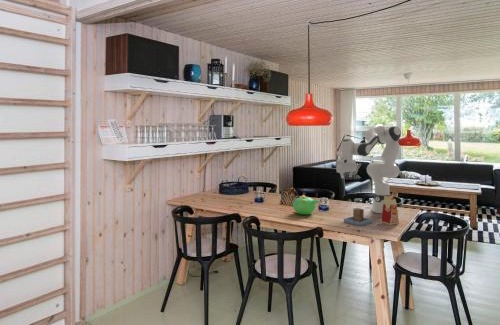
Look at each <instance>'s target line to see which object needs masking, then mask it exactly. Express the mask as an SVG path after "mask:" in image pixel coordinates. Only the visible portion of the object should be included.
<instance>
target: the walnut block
mask: <svg viewBox="0 0 500 325" xmlns="http://www.w3.org/2000/svg"><path fill="white" fill-rule="evenodd" d="M352 211H353V212H352V213H353V214H352V217H353V221H358V222H362V221H363V217H364V214H365V213H364V208H360V207H359V208H353V209H352Z"/></svg>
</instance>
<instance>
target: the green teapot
mask: <svg viewBox="0 0 500 325" xmlns="http://www.w3.org/2000/svg"><path fill="white" fill-rule="evenodd" d="M318 203H320V199H313V198H311V197H309V196H306V195H305V194H302V195H301V196H300V197H297V198H296V199H294V200H293V203H292V208H293V210H294V211H295V213H297V214H299V215H310V214H312V213H313V212H314V211H315V210H316V204H318Z"/></svg>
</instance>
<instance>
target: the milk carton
mask: <svg viewBox="0 0 500 325" xmlns="http://www.w3.org/2000/svg"><path fill="white" fill-rule="evenodd" d="M384 197H385V198H384V203H383V210H382V213H381V223H382V224H386V225H389V226H392V225H396V224H397V225H398V224H400V221H399V210H398V211H397V209H398V206H397V200H396V198H395V197H394V195H393V194H392V196H384Z"/></svg>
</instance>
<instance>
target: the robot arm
mask: <svg viewBox="0 0 500 325" xmlns="http://www.w3.org/2000/svg"><path fill="white" fill-rule="evenodd" d="M401 135H402V131H401V129H400V128H399V127H398V126H397V125H394V126H393V125H392V126H390V127H387V128H385V127H384V125H383V124H375V125H373V126H371V127H370V128H369V129H367V130H366V131H365V132H364V139H365V140H366V141H367V142H356V141H353V139H352V138H344V139H343V140H342V141H341V146H340V151H341V152H340V153H341V155H340V157H339V158H337V159H336V166H335V168H336V169H335V170H336V173H338V174H339V175H340V178H341V179H344V178H345V176H344V173H349V174H348V177H349V178H352V177H353V174H354V172H356V171H357V162H356V160H355V159H354V156H360V157H367V156H368V155H369V154H370V153H371V151H372V149H374V147H375V146H376V145H377V144H380V145H385V147H384V149H383V151H382V153H381V155H380V159H381V161H382V162H383V163H381V162H374V163H373V162H372V163H369V164H368V165H367V167H366V173H367V175H368V176H369V177H370V178H371V179H372V180H373V184H374V194H373V198H374V199H373V200H372V205H371V208H370V210H371V211H372V212H373V213H377V214H382V210H383V203H384V198H385V197H384V196H393V194H390V189H391V188H390V184H389V182H387V181H385V180H384V178H386V179H391V178H392V179H394V178H397V177H398V176H399V175H400V168H399V166H398V165H397V164H396V159H397V156H398V154H399V150H400V144H399V142H398V141H399V140H400V139H401ZM397 211H398V212H399V209H398V208H397Z"/></svg>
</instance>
